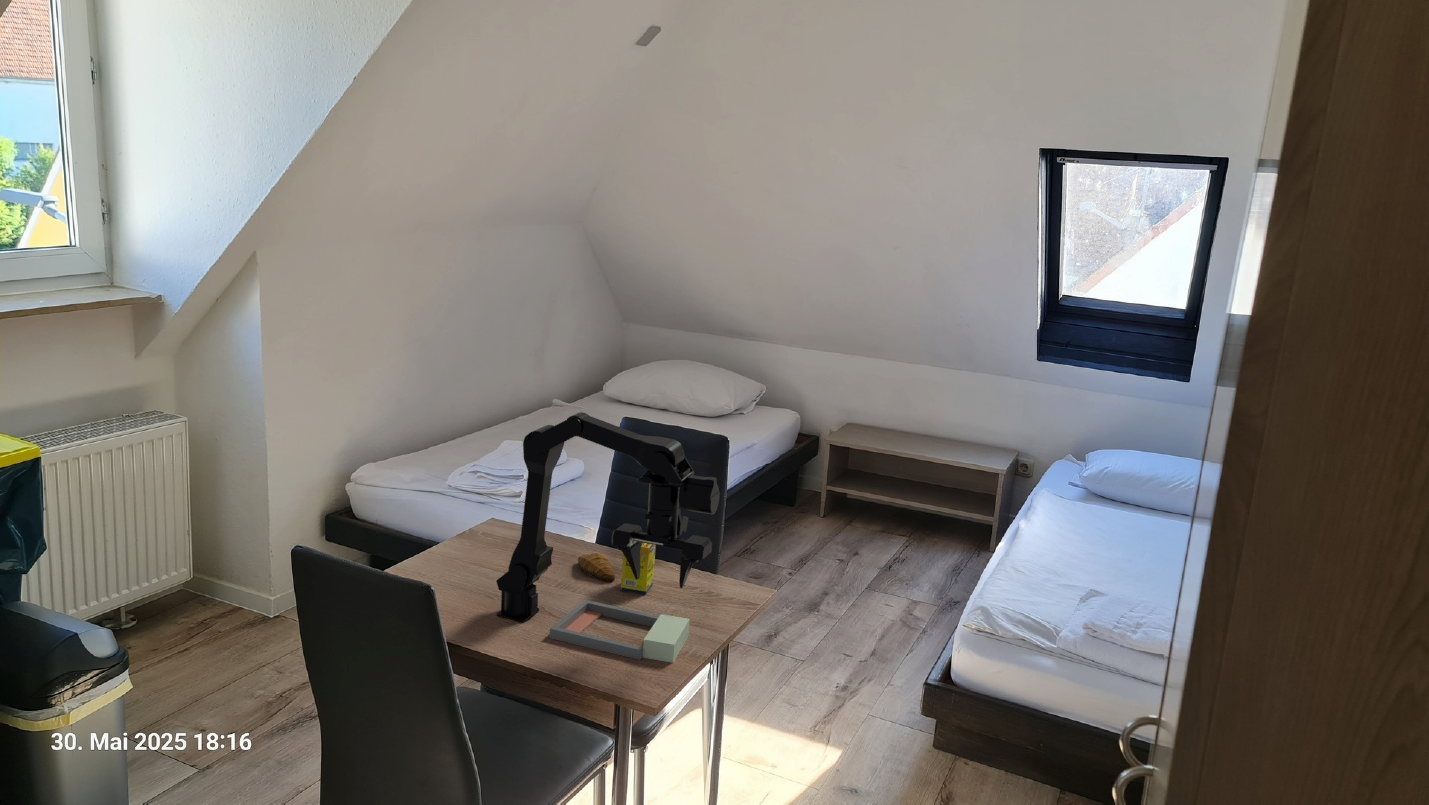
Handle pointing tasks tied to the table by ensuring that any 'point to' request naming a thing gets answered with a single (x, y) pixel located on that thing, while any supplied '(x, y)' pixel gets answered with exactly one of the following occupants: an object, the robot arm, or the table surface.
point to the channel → (587, 614)
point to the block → (666, 638)
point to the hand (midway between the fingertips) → (659, 583)
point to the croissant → (597, 566)
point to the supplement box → (645, 571)
